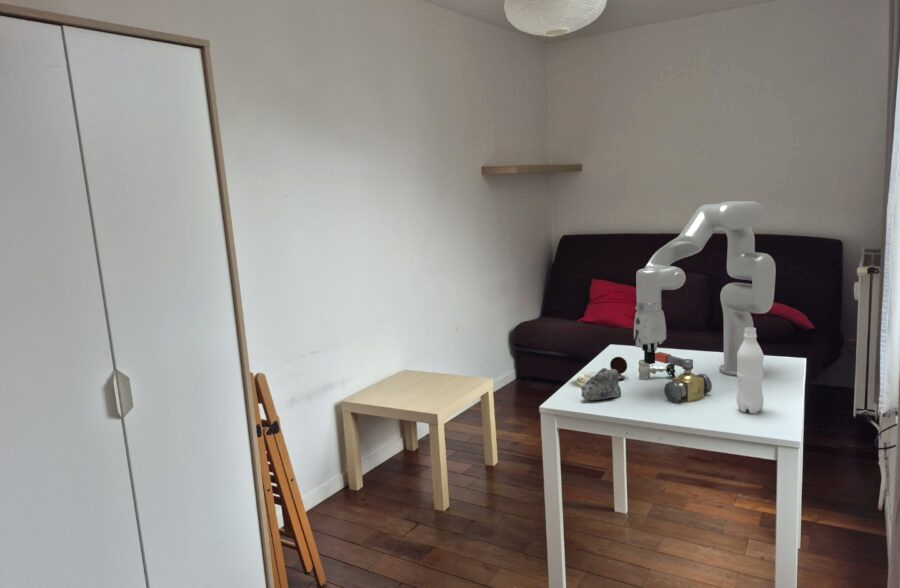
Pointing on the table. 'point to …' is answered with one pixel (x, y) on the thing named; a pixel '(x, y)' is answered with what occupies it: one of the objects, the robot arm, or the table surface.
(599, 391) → the mineral rock
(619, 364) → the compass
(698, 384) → the pipe valve
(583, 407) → the table surface
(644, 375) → the valve
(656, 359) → the valve lever
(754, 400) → the water bottle
